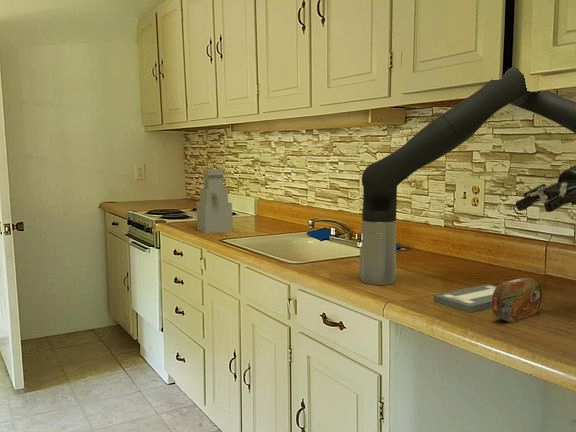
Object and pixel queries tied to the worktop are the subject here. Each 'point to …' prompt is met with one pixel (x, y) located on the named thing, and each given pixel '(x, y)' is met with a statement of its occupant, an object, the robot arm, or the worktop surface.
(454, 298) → the letter board
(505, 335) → the worktop surface
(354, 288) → the worktop surface
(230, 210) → the stacked tiered boxes
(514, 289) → the tin
